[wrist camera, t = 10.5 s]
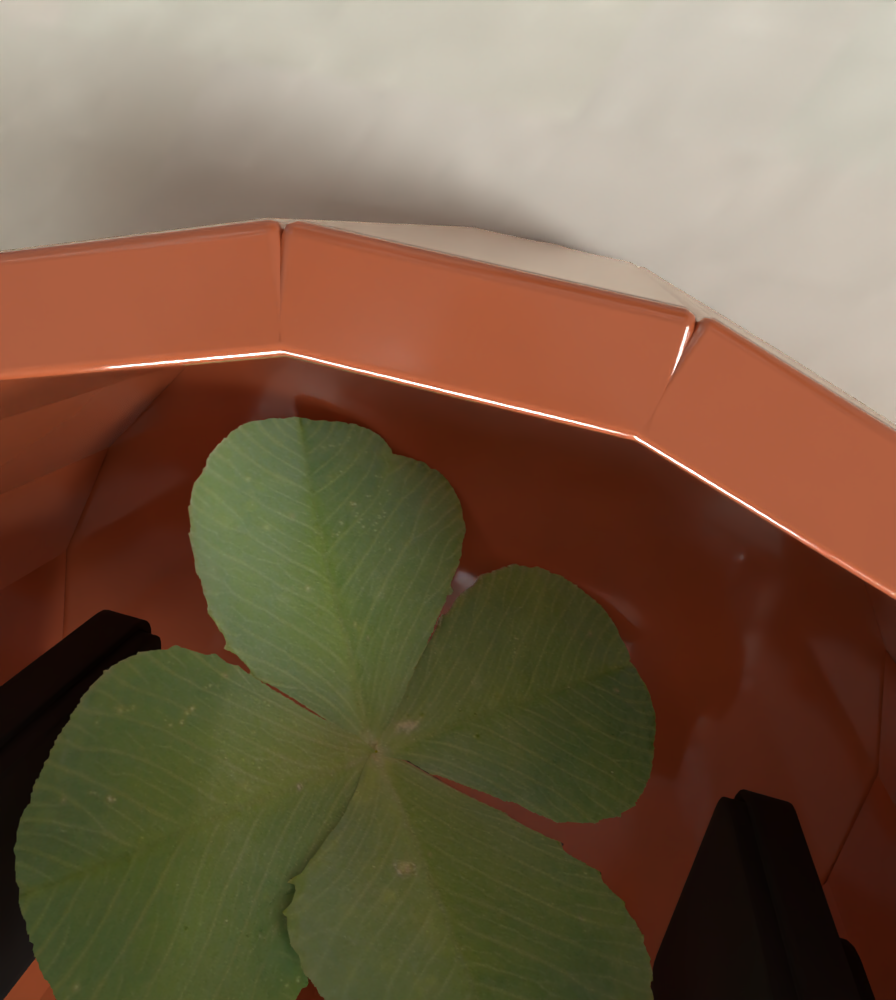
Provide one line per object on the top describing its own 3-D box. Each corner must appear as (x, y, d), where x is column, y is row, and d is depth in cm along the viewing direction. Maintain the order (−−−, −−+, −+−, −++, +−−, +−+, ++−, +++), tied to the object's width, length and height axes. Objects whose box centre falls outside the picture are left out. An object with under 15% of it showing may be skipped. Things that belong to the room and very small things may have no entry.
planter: (43, 880, 16) (-354, 1348, 9) (76, 137, 11) (-674, -1, 5) (736, 1101, 14) (855, 1829, 8) (1095, 363, 10) (2096, 628, 3)
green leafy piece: (411, 584, 17) (535, 381, 12) (569, 1009, 13) (842, 987, 8) (27, 664, 14) (-38, 434, 9) (106, 1245, 10) (78, 1450, 5)
